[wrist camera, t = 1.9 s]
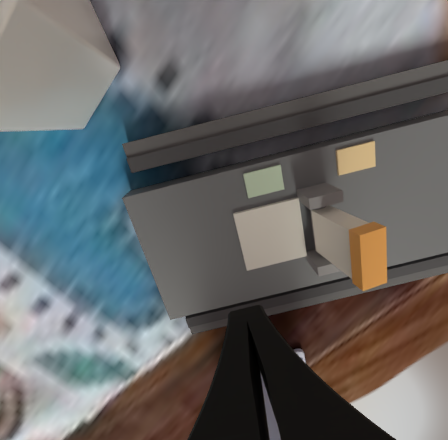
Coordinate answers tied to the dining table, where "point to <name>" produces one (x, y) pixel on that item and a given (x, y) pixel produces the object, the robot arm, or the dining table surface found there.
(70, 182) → the dining table surface
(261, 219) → the toggle switch panel
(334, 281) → the thin grey bar
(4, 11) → the jar
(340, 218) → the breaker lever
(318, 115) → the long dark grey rail
